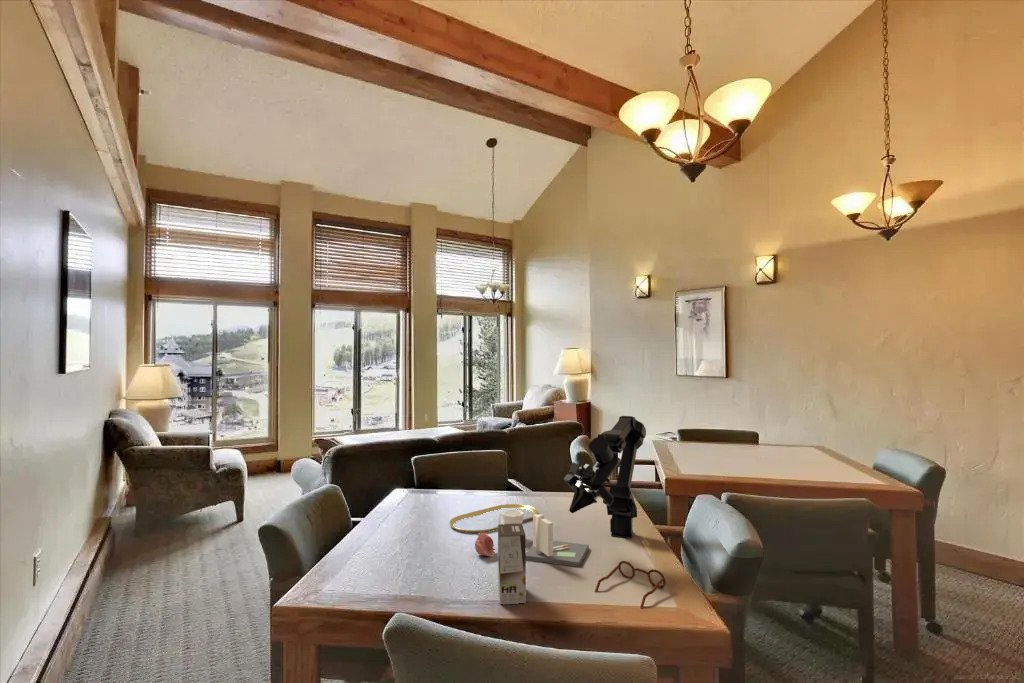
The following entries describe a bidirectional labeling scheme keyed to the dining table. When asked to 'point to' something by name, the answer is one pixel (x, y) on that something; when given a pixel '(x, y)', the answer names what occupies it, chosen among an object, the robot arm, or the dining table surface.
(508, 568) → the coffee box
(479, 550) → the flower
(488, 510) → the yellow oval loop
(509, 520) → the cup
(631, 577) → the glasses
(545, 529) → the tuning peg
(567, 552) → the grey board
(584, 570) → the dining table surface
